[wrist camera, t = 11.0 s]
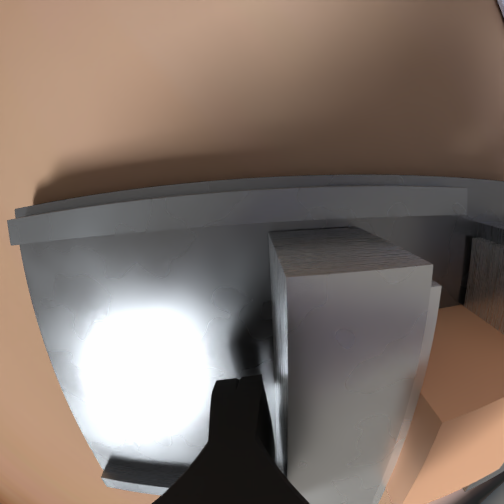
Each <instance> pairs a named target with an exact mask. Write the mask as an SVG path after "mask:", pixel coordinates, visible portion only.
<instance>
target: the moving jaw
mask: <svg viewBox="0 0 504 504" xmlns="http://www.w3.org/2000/svg"><path fill="white" fill-rule="evenodd" d="M268 238H269V258H270V278H271V300H272V323H273V348H274V375H275V406H276V443H277V466H278V468H279V469H280V470H281V472H282V473H283V474H284V475H285V477H286V478H287V479H288V480H289V482H290V483H291V484H292V485H293V486H294V487H295V488H296V489H297V490H298V491H299V493H300V494H301V495H302V496H303V497H304V498H305V499H306V500H307V501H308V502H309V503H310V504H378V503H379V501H380V499H381V497H382V494H383V492H384V490H385V488H386V485H387V483H388V481H389V479H390V476H391V474H392V472H393V469H394V467H395V465H396V462H397V460H398V457H399V454H400V452H401V449H402V447H403V444H404V441H405V438H406V436H407V433H408V430H409V427H410V424H411V421H412V418H413V415H414V411H415V408H416V405H417V402H418V398H419V395H420V392H421V388H422V385H423V381H424V377H425V373H426V369H427V365H428V361H429V356H430V352H431V347H432V342H433V337H434V332H435V327H436V321H437V315H438V309H439V302H440V295H441V288H442V286H441V285H440V284H438V283H437V282H435V281H433V280H432V273H433V264H431V263H429V262H428V261H426V260H424V259H422V258H420V257H418V256H416V255H414V254H412V253H410V252H408V251H406V250H404V249H402V248H400V247H398V246H396V245H394V244H392V243H390V242H388V241H386V240H384V239H382V238H380V237H378V236H376V235H374V234H372V233H369V232H367V231H365V230H363V229H361V228H359V227H354V228H334V229H316V230H298V231H281V232H268Z"/></svg>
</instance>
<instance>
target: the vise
mask: <svg viewBox="0 0 504 504" xmlns="http://www.w3.org/2000/svg"><path fill="white" fill-rule="evenodd" d="M15 216H16V218H15V219H11V220H7V223H8V230H9V237H10V243H11V245H19V244H20V250H21V255H22V261H23V266H24V270H25V275H26V280H27V284H28V288H29V292H30V296H31V300H32V304H33V308H34V311H35V315H36V318H37V322H38V325H39V328H40V331H41V335H42V338H43V341H44V344H45V347H46V350H47V352H48V355H49V358H50V361H51V363H52V366H53V369H54V371H55V374H56V376H57V379H58V381H59V384H60V386H61V388H62V391H63V393H64V395H65V398H66V400H67V402H68V404H69V407H70V409H71V411H72V413H73V415H74V417H75V419H76V421H77V423H78V425H79V427H80V429H81V431H82V433H83V435H84V437H85V439H86V441H87V443H88V444H89V446H90V448H91V450H92V452H93V453H94V455H95V457H96V459H97V460H98V462H99V464H100V465H101V467H102V469H103V470H104V471H103V474H102V476H101V478H102V480H103V481H104V483H105V484H106V486H107V487H112V488H117V489H122V490H128V491H134V492H140V493H147V494H155V495H162V494H163V493H165V492H166V491H167V490H168V489H169V488H170V487H171V486H172V485H173V484H174V483H175V482H176V480H177V479H178V478H179V477H180V476H181V475H182V474H183V473H184V472H185V471H186V470H187V468H188V467H189V466H190V465H191V464H192V462H193V461H194V460H195V459H196V457H197V456H198V455H199V453H200V452H201V450H202V449H203V448H204V446H205V445H206V443H207V442H208V434H209V418H210V403H211V394H212V390H213V387H214V385H215V383H216V380H224V379H232V378H237V379H240V378H241V377H246V376H252V375H259V374H262V378H263V383H264V388H265V392H266V397H267V402H268V406H269V411H270V416H271V420H272V427H273V435H274V442H275V464H276V465H277V443H276V406H275V375H274V348H273V323H272V300H271V278H270V258H269V238H268V232H281V231H298V230H316V229H334V228H354V227H359V228H361V229H363V230H365V231H367V232H369V233H372V234H374V235H376V236H378V237H380V238H382V239H384V240H386V241H388V242H390V243H392V244H394V245H396V246H398V247H400V248H402V249H404V250H406V251H408V252H410V253H412V254H414V255H416V256H418V257H420V258H422V259H424V260H426V261H428V262H429V263H431V264H433V273H432V280H433V281H435V282H437V283H438V284H440V285H441V286H442V288H441V295H440V302H439V309H440V308H445V307H451V306H456V305H463V306H464V307H465V308H467V309H468V310H470V311H471V312H473V313H474V314H476V315H477V316H478V317H480V318H481V319H483V320H484V321H486V322H487V323H488V324H490V325H491V326H493V327H494V328H495V329H497V330H498V331H500V332H501V333H502V334H504V181H496V180H484V179H471V178H456V177H438V176H413V175H308V176H281V177H262V178H245V179H231V180H218V181H206V182H195V183H184V184H174V185H165V186H156V187H148V188H140V189H132V190H124V191H117V192H110V193H103V194H96V195H90V196H83V197H77V198H71V199H65V200H60V201H54V202H49V203H43V204H38V205H33V206H28V207H23V208H18V209H15ZM503 471H504V463H503V464H502V466H501V467H500V469H498V470H496V471H494V472H493V473H491V474H489V475H487V476H485V477H483V478H482V479H480V480H478V481H476V482H474V483H472V484H470V485H468V486H466V487H464V488H463V490H464V491H465V492H466V491H468V490H470V489H472V488H474V487H476V486H478V485H480V484H481V483H483V482H485V481H487V480H489V479H491V478H492V477H494V476H496V475H498V474H499V473H501V472H503Z"/></svg>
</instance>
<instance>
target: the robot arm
mask: <svg viewBox="0 0 504 504" xmlns="http://www.w3.org/2000/svg"><path fill="white" fill-rule="evenodd" d="M497 1H498V4H499V6H500V9H501V11H502V14H503V17H504V0H497ZM152 504H310V503H309V502H308V501H307V500H306V499H305V498H304V497H303V496H302V495H301V494H300V493H299V491H298V490H297V489H296V488H295V487H294V486H293V485H292V484H291V483H290V482H289V480H288V479H287V478H286V477H285V475H284V474H283V473H282V472H281V470H280V469H279V468H278V466H277V465H276V464H275V442H274V435H273V427H272V420H271V416H270V411H269V406H268V402H267V397H266V392H265V388H264V383H263V378H262V374H259V375H252V376H246V377H241V378H240V379H237V378H232V379H224V380H216V383H215V385H214V387H213V390H212V394H211V403H210V418H209V434H208V442H207V443H206V445H205V446H204V448H203V449H202V450H201V452H200V453H199V455H198V456H197V457H196V459H195V460H194V461H193V462H192V464H191V465H190V466H189V467H188V468H187V470H186V471H185V472H184V473H183V474H182V475H181V476H180V477H179V478H178V479H177V480H176V482H175V483H174V484H173V485H172V486H171V487H170V488H169V489H168V490H167V491H166V492H165V493H163V494H162V495H161V496H160V497H159V498H158V499H157V500H155V501H154V502H153V503H152Z"/></svg>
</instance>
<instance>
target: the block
mask: <svg viewBox="0 0 504 504" xmlns="http://www.w3.org/2000/svg"><path fill="white" fill-rule="evenodd" d="M503 463H504V334H502V333H501V332H500V331H498V330H497V329H495V328H494V327H493V326H491V325H490V324H488V323H487V322H486V321H484V320H483V319H481V318H480V317H478V316H477V315H476V314H474V313H473V312H471V311H470V310H468V309H467V308H465V307H464V306H463V305H456V306H451V307H445V308H440V309H438V315H437V321H436V327H435V332H434V337H433V342H432V347H431V352H430V356H429V361H428V365H427V369H426V373H425V377H424V381H423V385H422V388H421V392H420V395H419V398H418V402H417V405H416V408H415V411H414V415H413V418H412V421H411V424H410V427H409V430H408V433H407V436H406V438H405V441H404V444H403V447H402V449H401V452H400V454H399V457H398V460H397V462H396V465H395V467H394V469H393V472H392V474H391V476H390V479H389V481H388V483H387V485H386V490H387V493H388V495H389V498H390V501H391V503H392V504H427V503H429V502H432V501H434V500H437V499H439V498H441V497H444V496H446V495H448V494H451V493H453V492H455V491H457V490H459V489H462V488H464V487H466V486H468V485H470V484H472V483H474V482H476V481H478V480H480V479H482V478H483V477H485V476H487V475H489V474H491V473H493V472H494V471H496V470H498V469H500V467H501V466H502V464H503Z"/></svg>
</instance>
